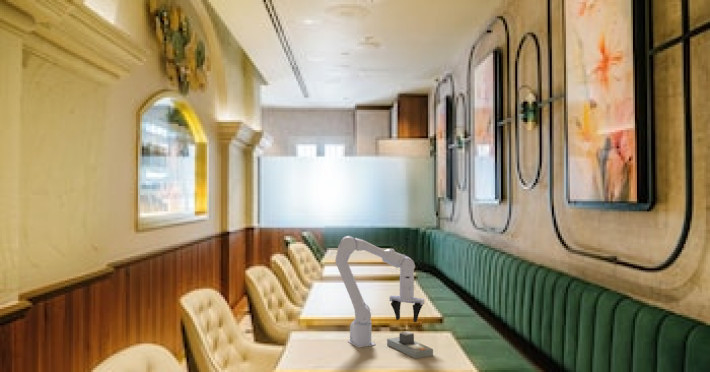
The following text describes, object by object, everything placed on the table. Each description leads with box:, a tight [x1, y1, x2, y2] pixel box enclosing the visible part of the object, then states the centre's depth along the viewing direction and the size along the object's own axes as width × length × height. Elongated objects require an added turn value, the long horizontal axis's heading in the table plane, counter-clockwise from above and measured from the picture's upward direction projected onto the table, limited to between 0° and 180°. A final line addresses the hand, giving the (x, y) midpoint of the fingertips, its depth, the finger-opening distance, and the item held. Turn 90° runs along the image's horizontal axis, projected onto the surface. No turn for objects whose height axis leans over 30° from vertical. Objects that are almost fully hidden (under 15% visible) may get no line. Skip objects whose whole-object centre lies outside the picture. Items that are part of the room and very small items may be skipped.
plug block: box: [399, 330, 415, 345], centre depth 208 cm, size 4×4×6 cm
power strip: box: [386, 336, 434, 360], centre depth 206 cm, size 20×8×3 cm, turn 28°
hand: (406, 320), depth 215 cm, fingers open, 7 cm apart
